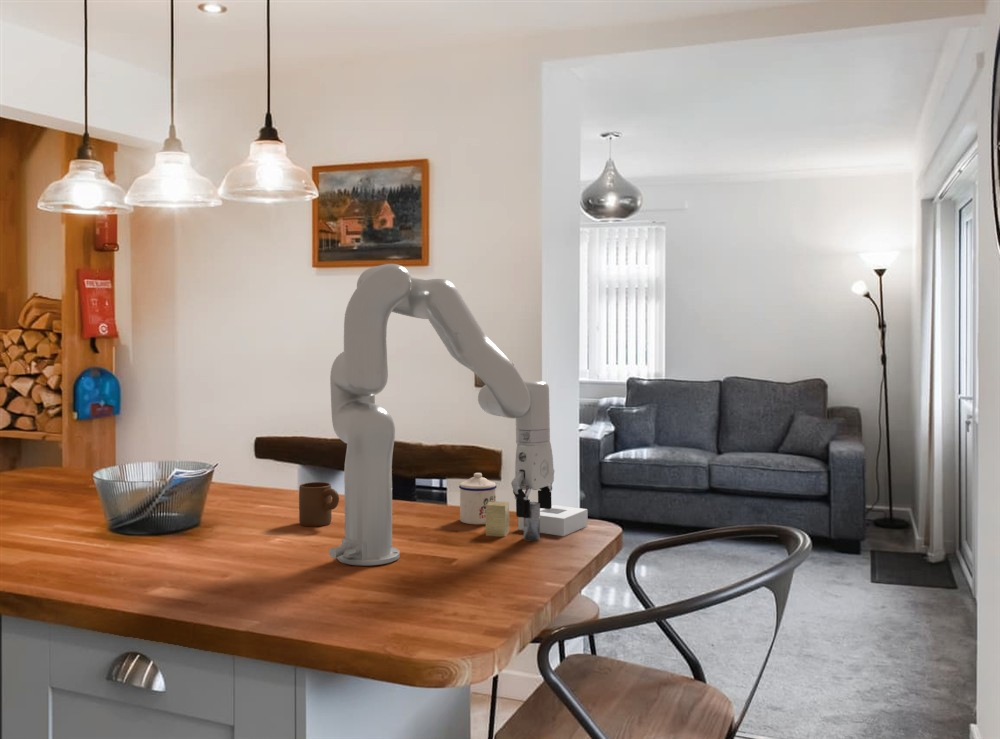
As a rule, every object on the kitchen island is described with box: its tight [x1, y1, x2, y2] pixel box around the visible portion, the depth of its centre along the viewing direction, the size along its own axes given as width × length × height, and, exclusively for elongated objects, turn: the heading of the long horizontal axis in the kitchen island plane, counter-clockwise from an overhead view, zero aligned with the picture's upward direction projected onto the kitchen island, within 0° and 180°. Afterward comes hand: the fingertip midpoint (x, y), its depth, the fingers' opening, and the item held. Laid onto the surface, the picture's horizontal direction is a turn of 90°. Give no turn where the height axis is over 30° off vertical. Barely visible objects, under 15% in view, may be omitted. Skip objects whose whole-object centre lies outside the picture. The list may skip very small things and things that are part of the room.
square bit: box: [485, 501, 510, 538], centre depth 198 cm, size 4×4×7 cm
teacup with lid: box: [458, 472, 497, 526], centre depth 212 cm, size 12×9×12 cm
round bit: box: [523, 501, 541, 542], centre depth 193 cm, size 4×4×8 cm
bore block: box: [517, 504, 589, 537], centre depth 204 cm, size 12×12×4 cm
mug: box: [298, 481, 340, 528], centre depth 206 cm, size 12×8×9 cm, turn 51°
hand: (534, 512), depth 193 cm, fingers open, 9 cm apart
